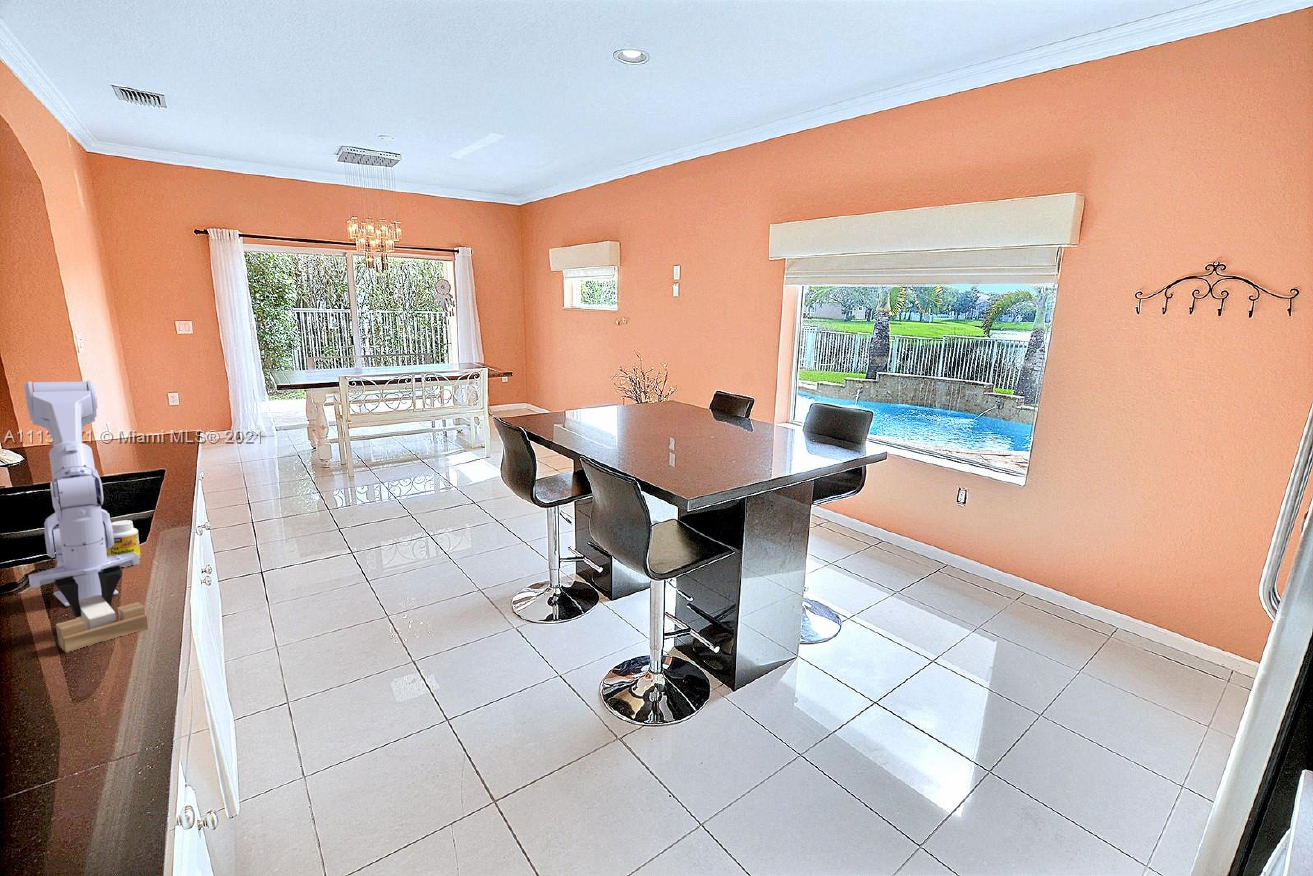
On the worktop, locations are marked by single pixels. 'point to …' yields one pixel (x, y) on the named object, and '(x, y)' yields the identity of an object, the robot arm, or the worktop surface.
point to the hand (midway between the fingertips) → (92, 611)
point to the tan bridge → (101, 628)
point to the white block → (96, 612)
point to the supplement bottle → (124, 539)
